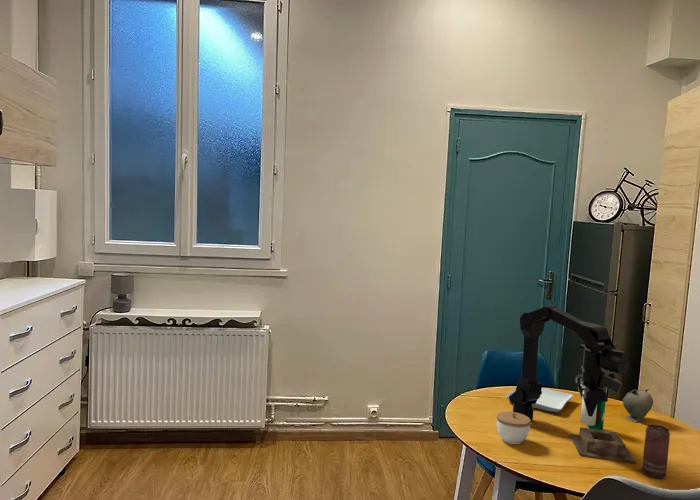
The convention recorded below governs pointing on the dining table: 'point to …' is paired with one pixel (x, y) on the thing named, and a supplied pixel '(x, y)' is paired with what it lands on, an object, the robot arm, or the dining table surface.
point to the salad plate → (550, 400)
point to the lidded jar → (513, 427)
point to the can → (656, 451)
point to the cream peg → (584, 415)
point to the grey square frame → (601, 445)
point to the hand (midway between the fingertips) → (588, 413)
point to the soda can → (599, 416)
